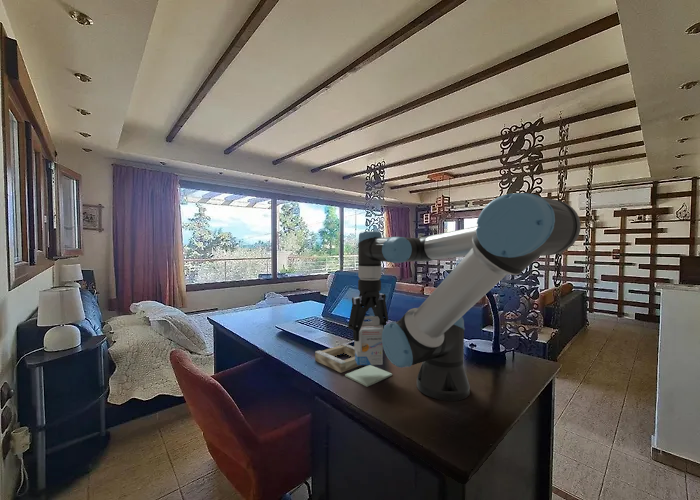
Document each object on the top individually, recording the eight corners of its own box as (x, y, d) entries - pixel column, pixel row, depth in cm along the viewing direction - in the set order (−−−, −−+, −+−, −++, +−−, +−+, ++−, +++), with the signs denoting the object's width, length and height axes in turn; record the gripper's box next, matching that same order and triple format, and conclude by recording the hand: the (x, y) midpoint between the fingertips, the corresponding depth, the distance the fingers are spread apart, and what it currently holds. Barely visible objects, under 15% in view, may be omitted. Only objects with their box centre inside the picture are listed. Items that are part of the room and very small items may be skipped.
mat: (392, 375, 100) (392, 373, 100) (367, 386, 91) (367, 384, 91) (370, 366, 107) (370, 364, 107) (344, 376, 99) (344, 374, 99)
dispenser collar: (370, 361, 111) (370, 352, 111) (341, 372, 101) (341, 362, 101) (344, 351, 122) (344, 343, 122) (315, 360, 112) (315, 351, 112)
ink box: (357, 366, 96) (357, 319, 96) (354, 360, 101) (355, 316, 101) (383, 364, 97) (383, 319, 97) (379, 359, 102) (380, 315, 102)
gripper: (382, 275, 109) (382, 337, 109) (336, 280, 94) (336, 351, 94) (399, 277, 103) (398, 342, 104) (353, 282, 88) (352, 358, 89)
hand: (369, 347), depth 99 cm, fingers closed on ink box, 9 cm apart
